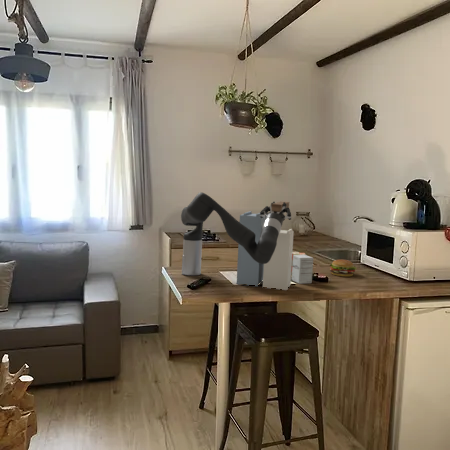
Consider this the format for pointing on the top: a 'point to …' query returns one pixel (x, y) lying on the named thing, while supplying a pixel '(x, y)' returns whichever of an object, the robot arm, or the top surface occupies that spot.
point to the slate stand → (247, 266)
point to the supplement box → (302, 269)
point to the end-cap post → (280, 263)
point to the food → (342, 268)
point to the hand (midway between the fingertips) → (279, 203)
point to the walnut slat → (278, 206)
